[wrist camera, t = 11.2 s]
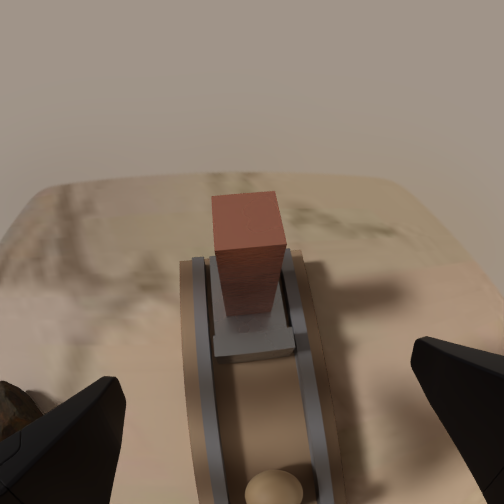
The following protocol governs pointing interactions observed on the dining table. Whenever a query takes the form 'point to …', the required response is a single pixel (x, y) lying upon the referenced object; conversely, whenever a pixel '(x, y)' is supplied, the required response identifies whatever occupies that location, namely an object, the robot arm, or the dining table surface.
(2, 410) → the dark brown bar
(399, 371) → the dining table surface
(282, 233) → the lever
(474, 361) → the robot arm
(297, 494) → the nut
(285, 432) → the ball pusher game
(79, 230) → the dining table surface
